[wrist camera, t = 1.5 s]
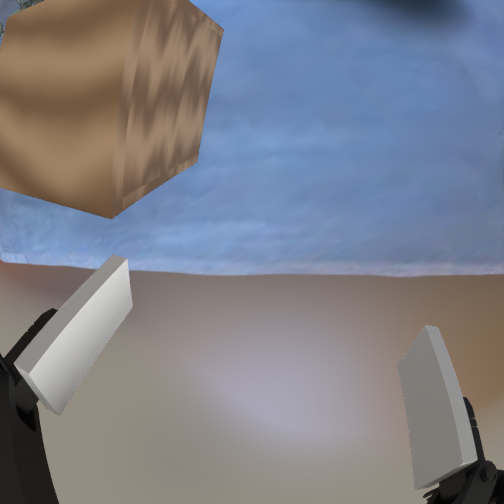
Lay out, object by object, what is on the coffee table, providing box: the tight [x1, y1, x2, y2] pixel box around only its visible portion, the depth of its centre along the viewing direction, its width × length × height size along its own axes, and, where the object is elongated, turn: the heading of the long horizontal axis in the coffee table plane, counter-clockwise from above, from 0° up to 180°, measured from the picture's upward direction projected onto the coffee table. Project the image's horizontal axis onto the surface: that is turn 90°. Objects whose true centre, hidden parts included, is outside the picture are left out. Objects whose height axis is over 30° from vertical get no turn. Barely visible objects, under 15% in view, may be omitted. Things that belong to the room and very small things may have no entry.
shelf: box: [0, 0, 224, 219], centre depth 22 cm, size 17×16×18 cm
